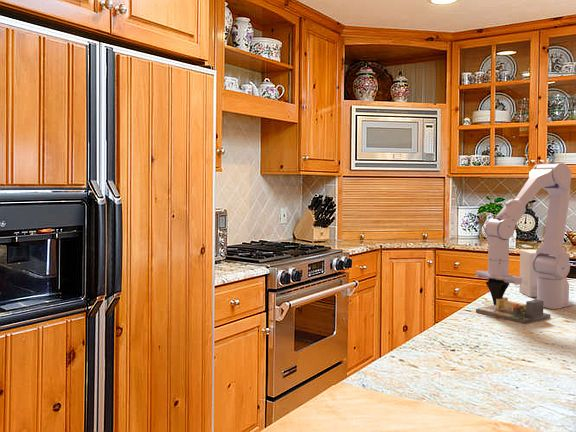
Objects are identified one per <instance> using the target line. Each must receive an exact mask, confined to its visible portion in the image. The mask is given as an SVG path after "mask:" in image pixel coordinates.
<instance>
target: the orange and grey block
mask: <svg viewBox="0 0 576 432" xmlns="http://www.w3.org/2000/svg"><path fill="white" fill-rule="evenodd" d="M513 314H515V315H519V314H520V307H519V304H513Z"/></svg>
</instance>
